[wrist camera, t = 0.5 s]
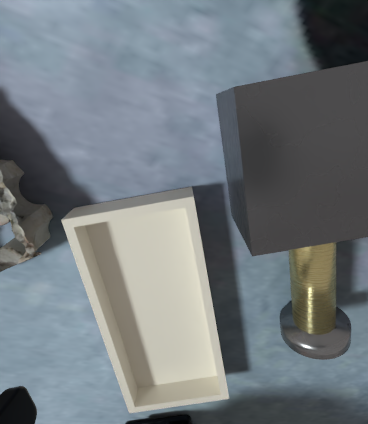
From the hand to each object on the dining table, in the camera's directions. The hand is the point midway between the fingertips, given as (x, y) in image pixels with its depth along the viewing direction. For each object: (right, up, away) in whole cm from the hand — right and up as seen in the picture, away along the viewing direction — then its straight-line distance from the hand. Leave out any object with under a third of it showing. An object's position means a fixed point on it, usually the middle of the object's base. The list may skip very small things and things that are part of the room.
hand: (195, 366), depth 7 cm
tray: (-2, -3, +15) cm, 15 cm away
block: (+7, +8, +11) cm, 15 cm away
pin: (+8, +2, +13) cm, 16 cm away
